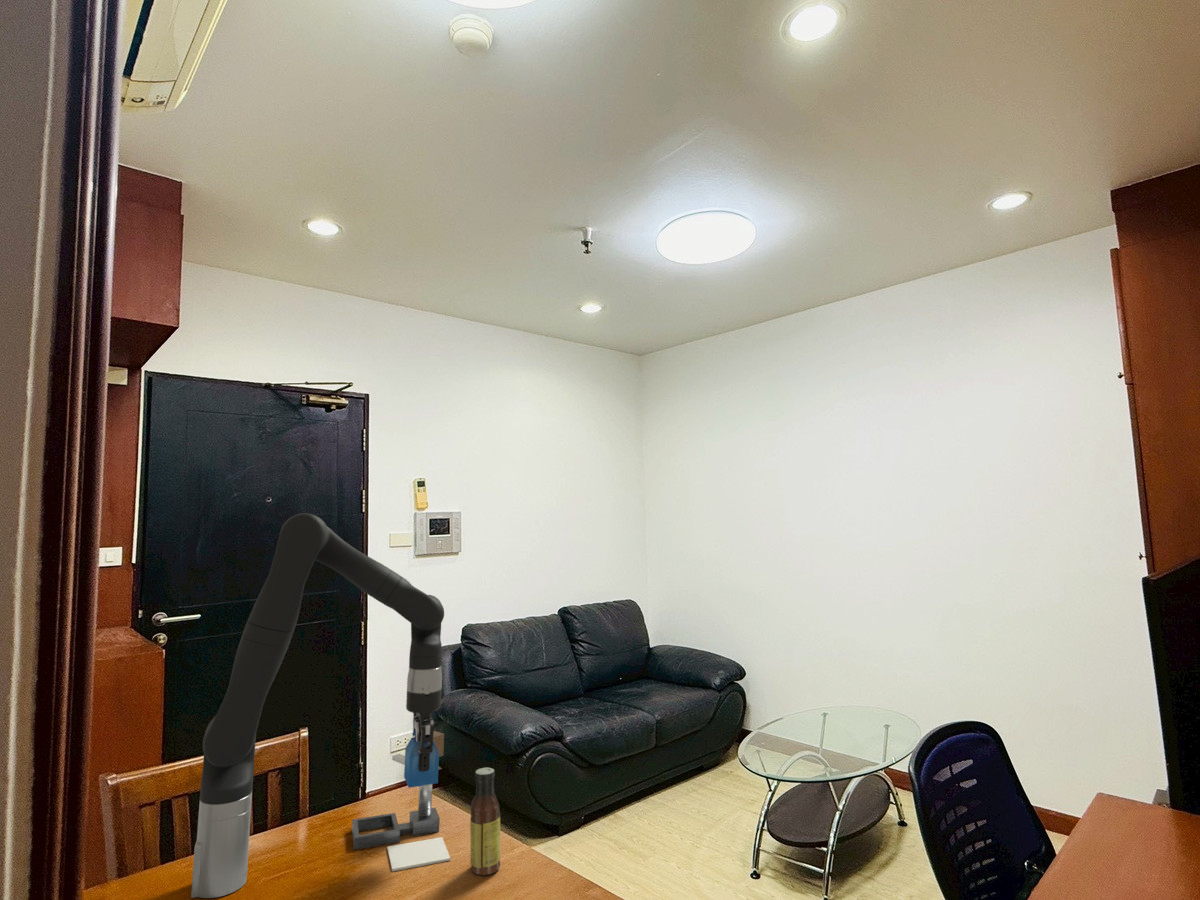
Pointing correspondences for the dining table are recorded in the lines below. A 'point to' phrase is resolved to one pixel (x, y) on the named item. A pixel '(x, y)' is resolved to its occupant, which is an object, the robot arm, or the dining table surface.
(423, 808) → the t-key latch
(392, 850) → the pad
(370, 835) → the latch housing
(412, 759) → the perfume bottle
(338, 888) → the dining table surface
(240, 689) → the robot arm
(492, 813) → the sauce bottle
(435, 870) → the dining table surface
